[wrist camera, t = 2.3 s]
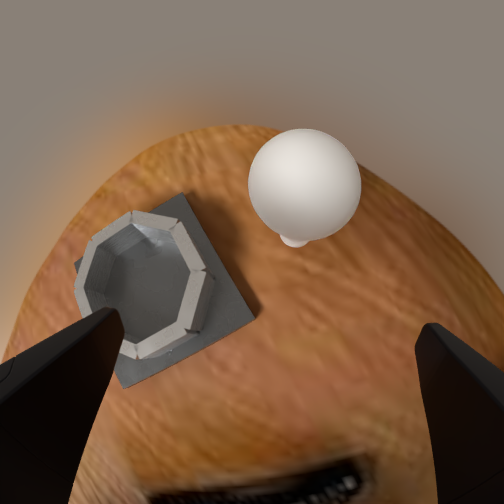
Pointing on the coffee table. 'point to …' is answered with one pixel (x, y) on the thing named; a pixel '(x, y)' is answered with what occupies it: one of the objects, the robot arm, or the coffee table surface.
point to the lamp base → (159, 288)
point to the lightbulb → (304, 185)
